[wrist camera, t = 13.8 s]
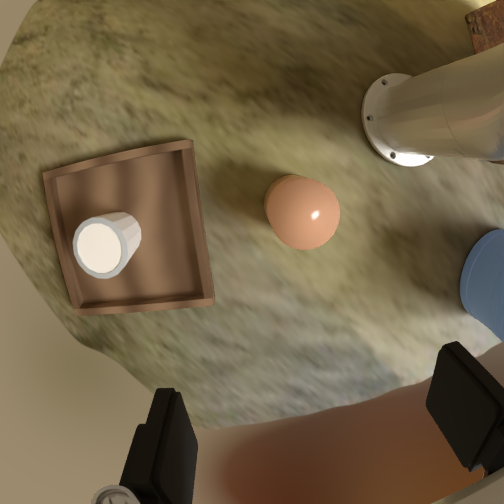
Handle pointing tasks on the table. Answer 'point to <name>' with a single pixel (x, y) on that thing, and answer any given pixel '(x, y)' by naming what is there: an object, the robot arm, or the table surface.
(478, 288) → the water jug
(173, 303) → the walnut tray
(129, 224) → the white tapered cup
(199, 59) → the table surface
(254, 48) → the table surface
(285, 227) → the peach rounded capsule
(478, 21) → the book
